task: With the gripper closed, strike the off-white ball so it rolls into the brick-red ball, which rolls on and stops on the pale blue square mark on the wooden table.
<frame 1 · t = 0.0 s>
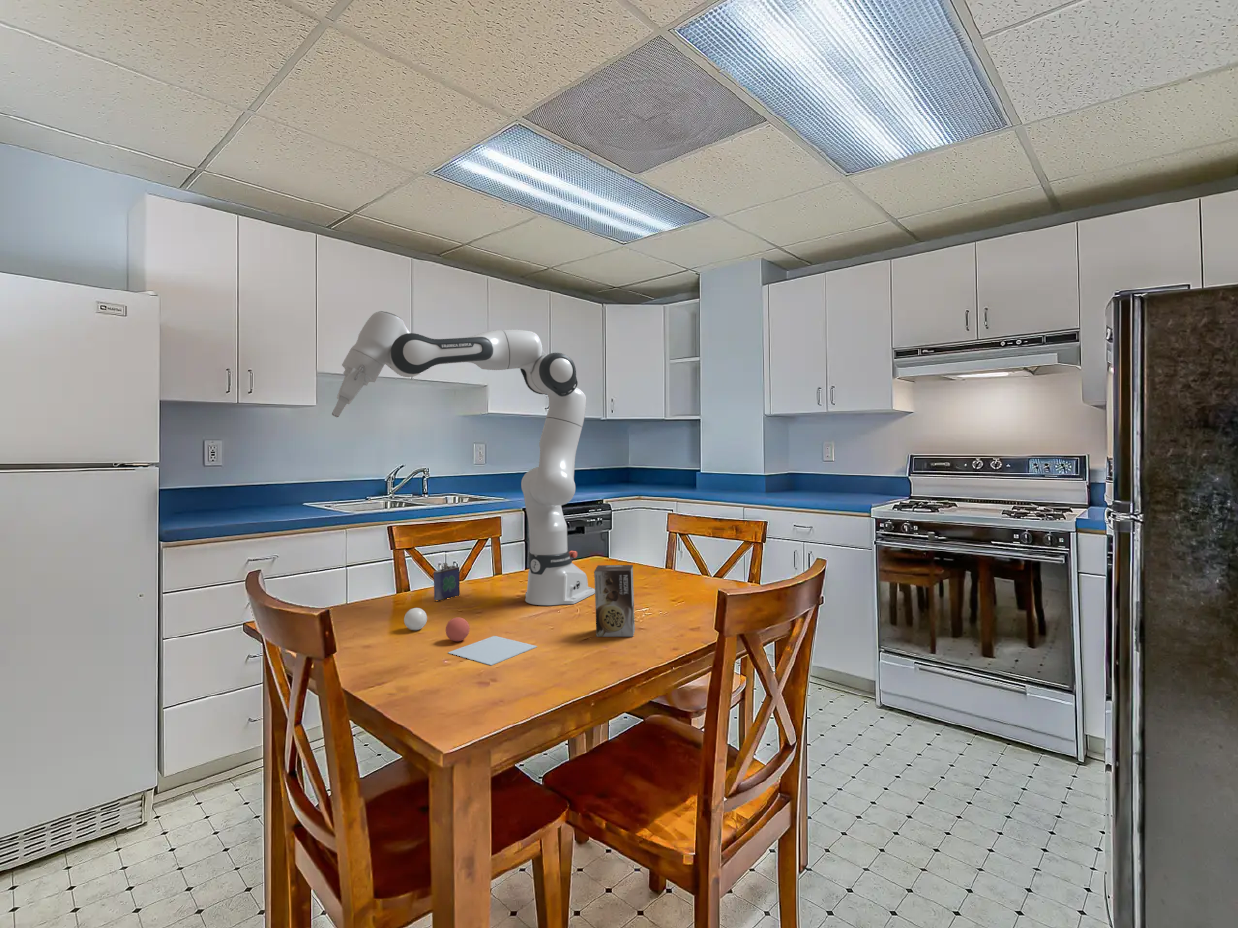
hand: (334, 415, 160), 54 cm above the table, tool tilted 30°, fingers open, 8 cm apart
cue ball: (415, 618, 159), on the table
flask: (447, 598, 190), on the table
coffee box: (615, 633, 153), on the table
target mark: (493, 649, 142), on the table
object ball: (457, 629, 149), on the table
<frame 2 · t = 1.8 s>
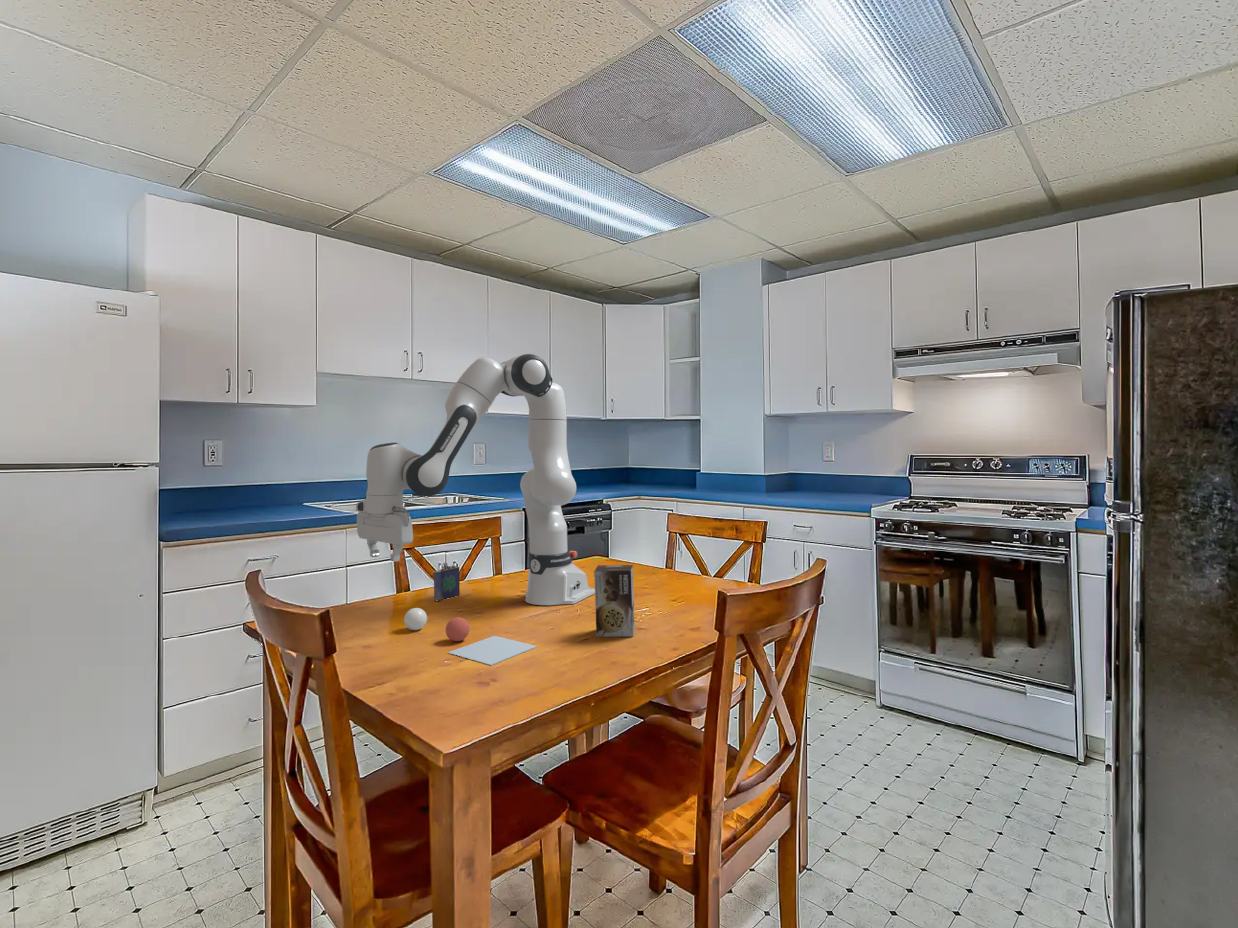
hand: (384, 558, 163), 17 cm above the table, tool pointing down, fingers open, 8 cm apart
nothing on the table moved.
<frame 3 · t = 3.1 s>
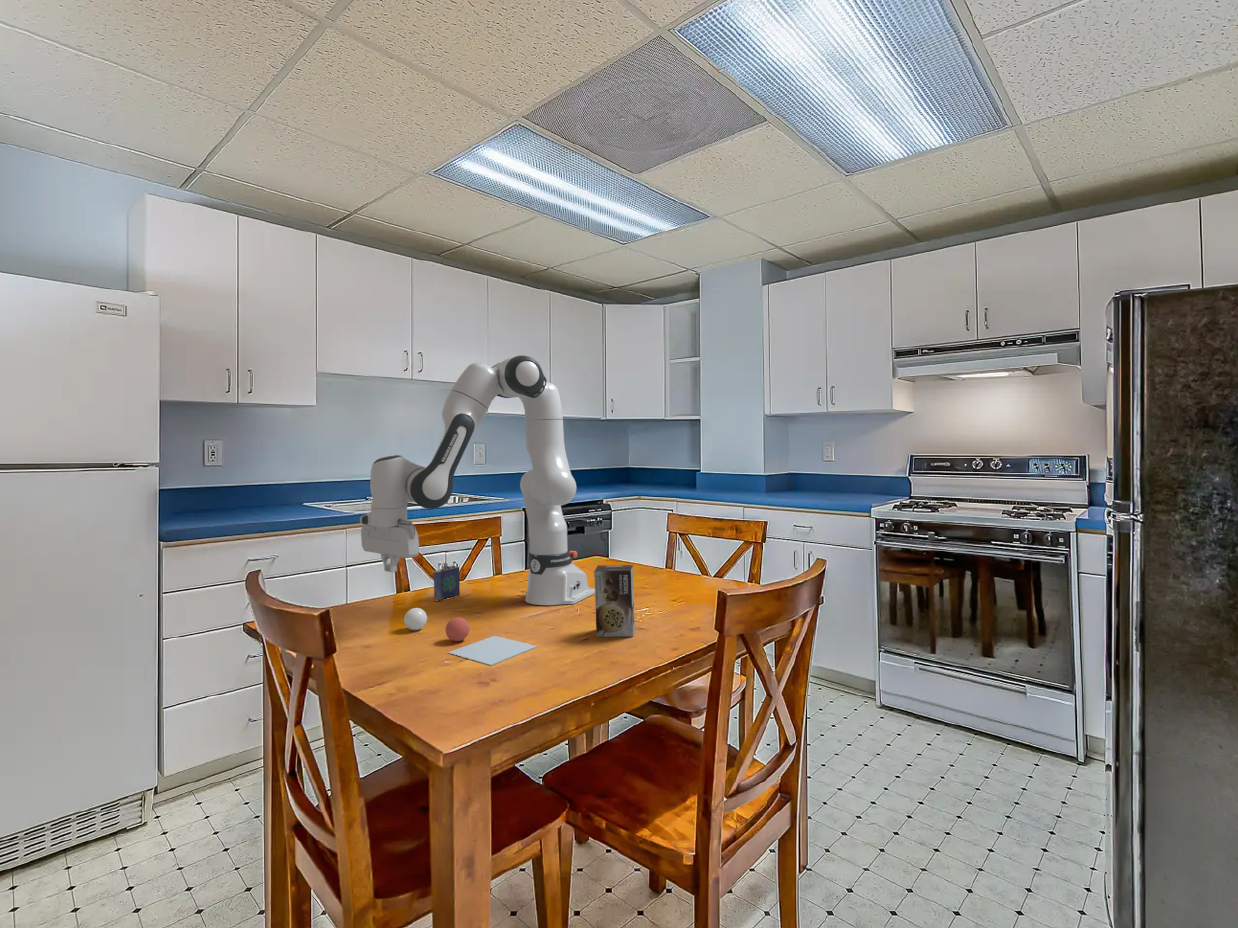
hand: (390, 571, 164), 14 cm above the table, tool pointing down, fingers closed
nothing on the table moved.
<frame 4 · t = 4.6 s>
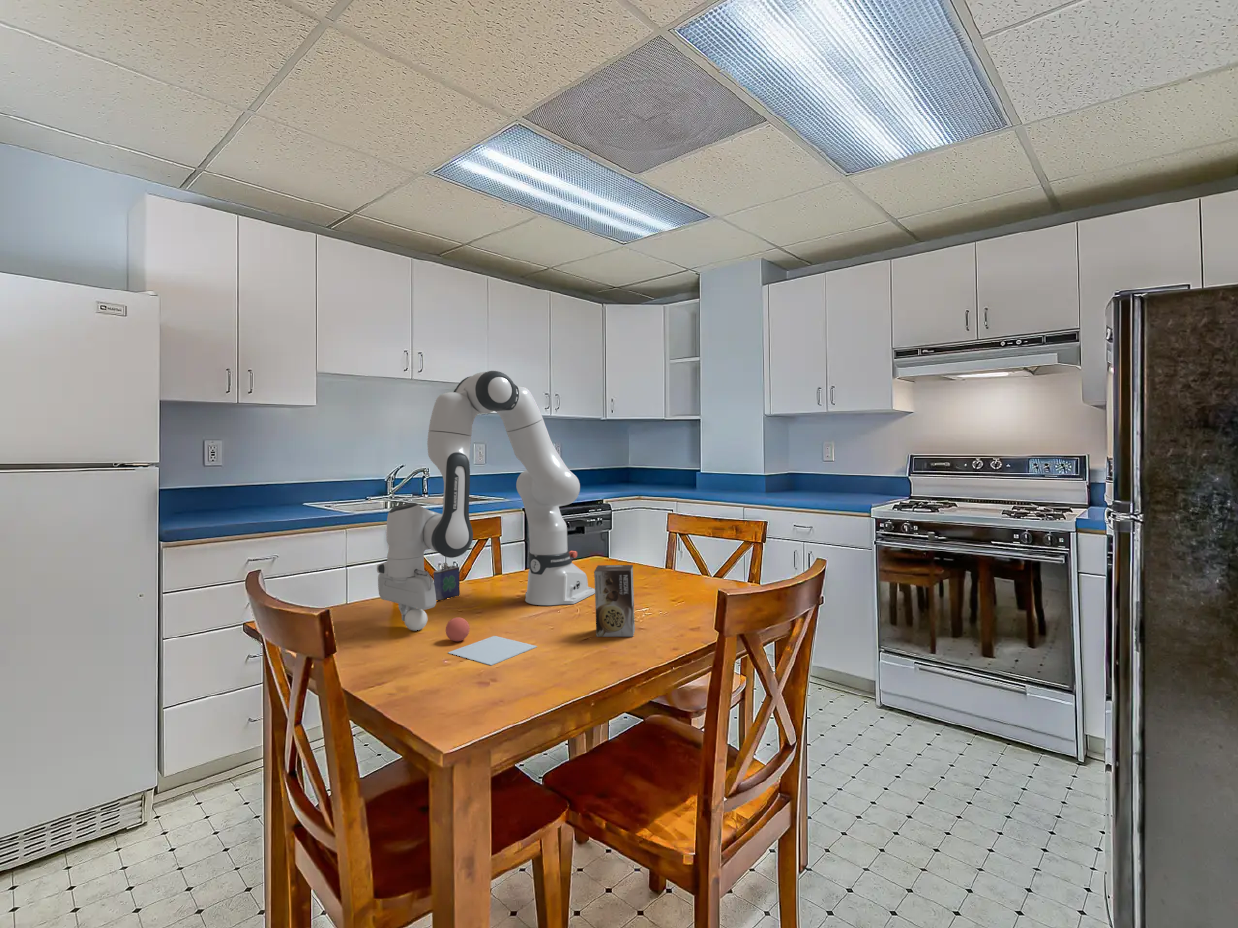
hand: (407, 621, 161), 2 cm above the table, tool pointing down, fingers closed
cue ball: (416, 619, 158), on the table, touching gripper
everything else where it was.
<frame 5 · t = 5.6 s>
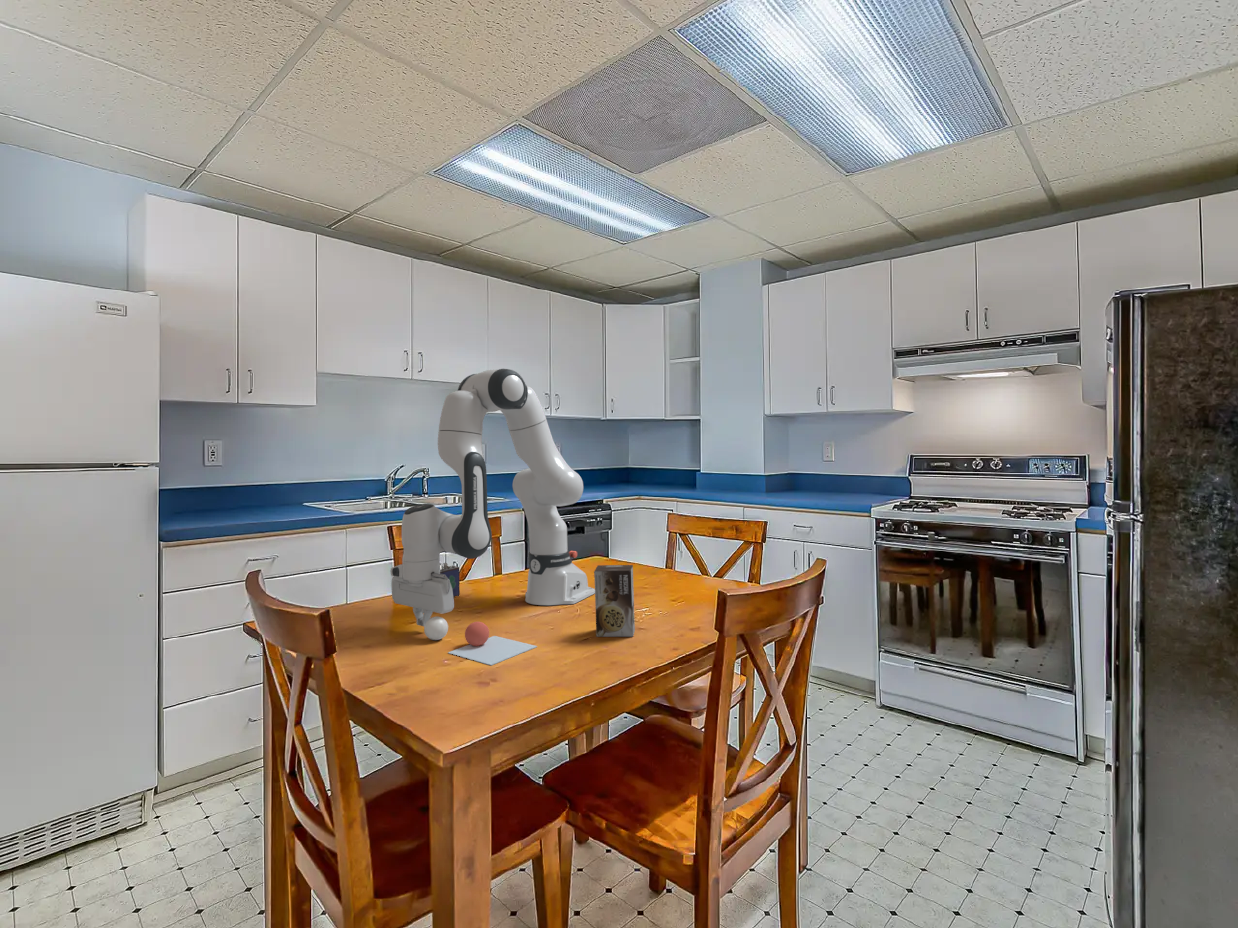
hand: (423, 625, 157), 2 cm above the table, tool pointing down, fingers closed
cue ball: (436, 628, 150), on the table
object ball: (477, 633, 145), on the table
everything else where it was.
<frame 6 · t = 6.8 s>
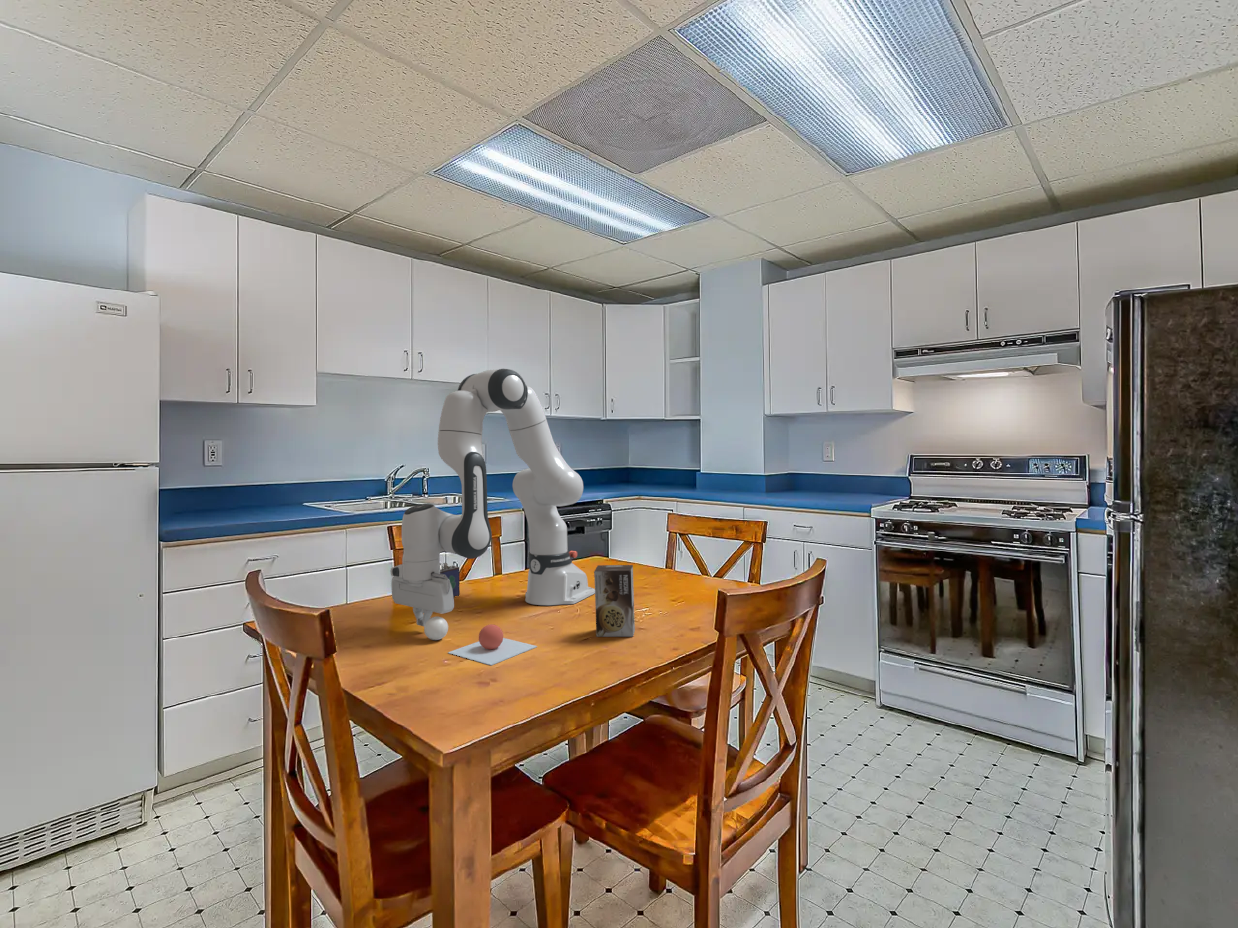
hand: (423, 625, 157), 2 cm above the table, tool pointing down, fingers closed
object ball: (491, 636, 143), on the table
everything else where it was.
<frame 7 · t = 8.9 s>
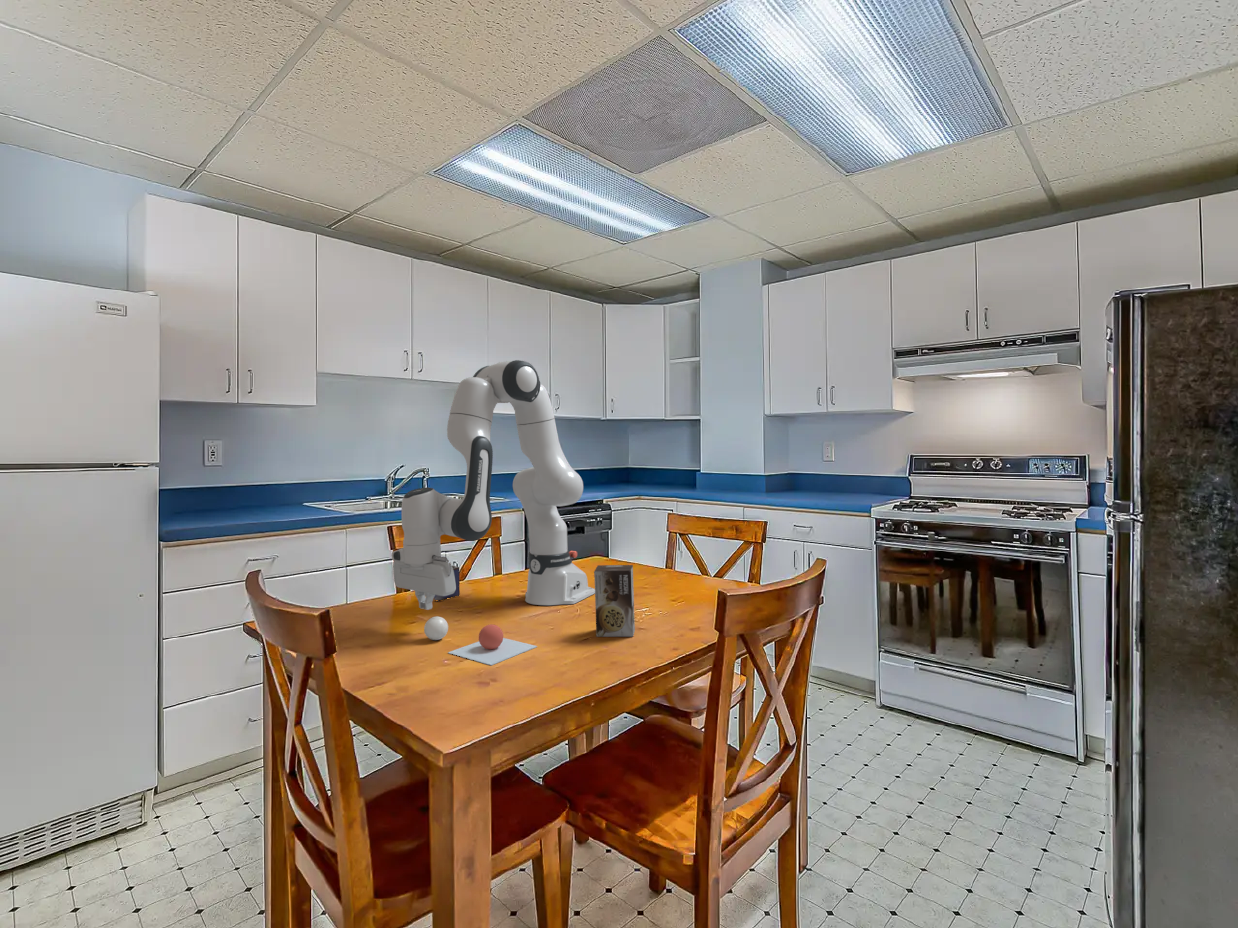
hand: (425, 608, 157), 6 cm above the table, tool pointing down, fingers closed
nothing on the table moved.
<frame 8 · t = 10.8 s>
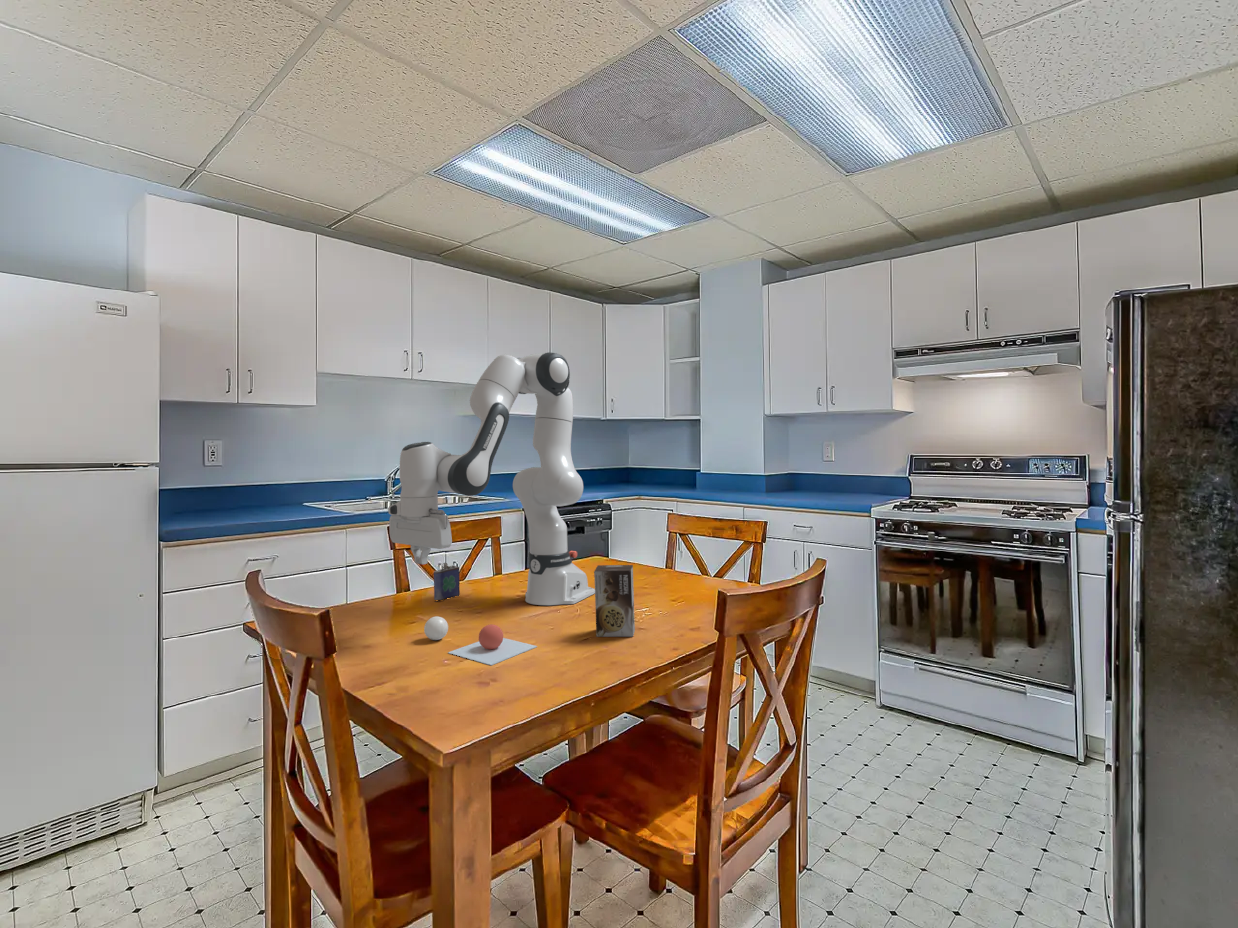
hand: (421, 563, 156), 17 cm above the table, tool pointing down, fingers closed
nothing on the table moved.
at the end: object ball 1.0 cm from the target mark (horizontally); object ball never touched the robot; cue ball first touched object ball at 5.0 s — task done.
